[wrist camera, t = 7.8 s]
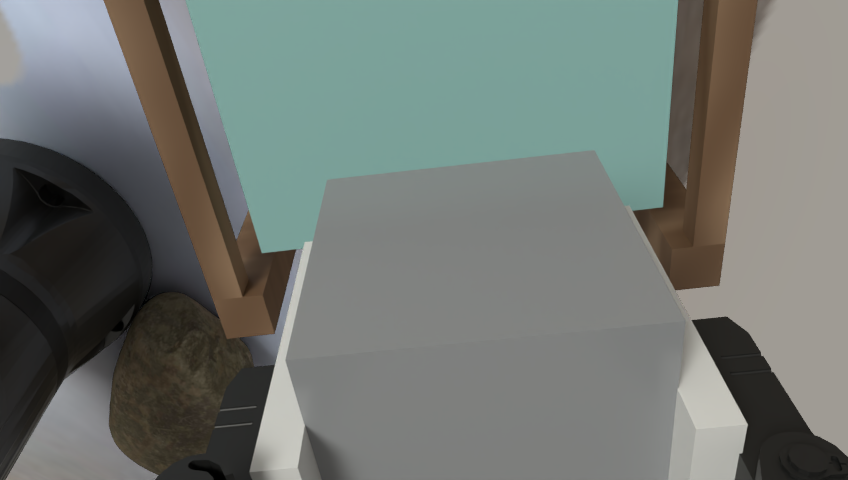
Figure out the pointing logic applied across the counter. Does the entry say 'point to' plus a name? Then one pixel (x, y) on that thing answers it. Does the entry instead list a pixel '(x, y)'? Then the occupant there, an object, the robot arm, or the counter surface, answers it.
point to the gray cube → (485, 328)
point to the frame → (269, 272)
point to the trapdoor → (432, 92)
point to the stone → (171, 381)
